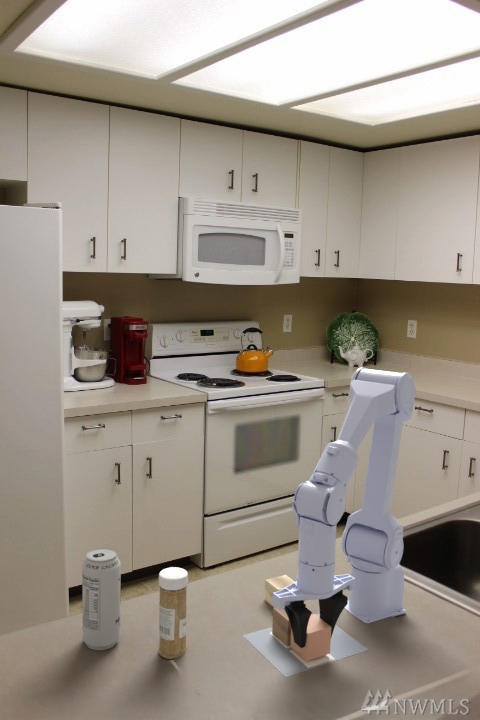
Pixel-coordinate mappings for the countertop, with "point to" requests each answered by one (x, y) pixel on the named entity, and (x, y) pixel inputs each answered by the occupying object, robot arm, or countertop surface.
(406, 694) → the countertop surface
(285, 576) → the maple block
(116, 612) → the energy drink can
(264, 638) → the build board
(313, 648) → the terracotta block
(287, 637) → the walnut block
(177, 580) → the sprinkles bottle
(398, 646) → the countertop surface
